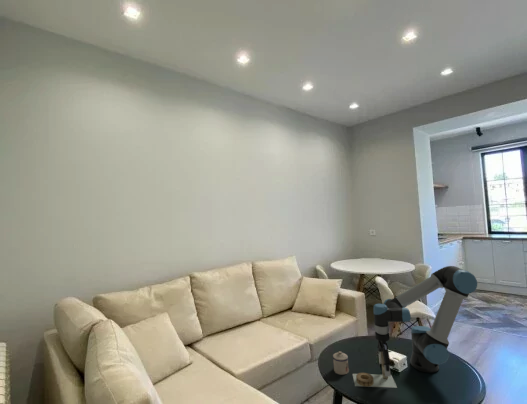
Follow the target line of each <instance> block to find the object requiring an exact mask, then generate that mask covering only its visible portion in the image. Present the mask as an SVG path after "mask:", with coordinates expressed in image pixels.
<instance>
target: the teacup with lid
mask: <svg viewBox="0 0 527 404" xmlns="http://www.w3.org/2000/svg"><path fill="white" fill-rule="evenodd" d="M332 358H333V359H332V361H333V372H334V373H335V374H337V375H342V376H344V375H347V374H349V372H350V369H349V356H348V354H346V353H344V352H342V350H341V351H338V352H335V353H333V354H332Z"/></svg>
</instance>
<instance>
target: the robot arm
mask: <svg viewBox="0 0 527 404" xmlns="http://www.w3.org/2000/svg"><path fill="white" fill-rule="evenodd" d="M477 287H478V281H477V278H476V276H475V275H474V274H473V273H471V272H470V271H468V270H466V269H462V268H459V267H458V266H454V265H447V266H443V267H442V268H440V269H437V270H436V271H434V272H432V273H431V274H430V276H429V277H427V278H425V279H424V280H422V281H421V282H419V283H416V285H414V286H412V287H410V288H409V289H407V290H405V291H404V292H402V293H400V294H398V295H397V296H395V297H394V298H386V299H385V300H384V301H383V303H375V304H374V305H373V312H372V313H373V319H374V326H373V328H374V335H375V336H374V337H375V339H376V341H377V346H376V347H377V350H378V359H379V361H378V362H379V364H382V363H381V352H383V357H384V364H383V365H384V368H385V376H388V377H391V376H390V375H391V366H392V365H391V359H390V352H389V345H388V343H387V342H388V341H389V340H390V326H389V323H406V322H410V321H411V320H412V316H411V312H410V310H409V308H408V307H409V306H411V305H412V304H414V303H415V302H417V301H418V300H420V299H423V298H424V297H427V296H428V295H429V294H431V293H433V292H435V291H436V290H438V289H444V290H445V293H444V295H443V298H442V300H441V302H440V305H439V307H438V310H437V312H436V315H435V318H434V320H433V322H432V326H431V327H428V326H423V325H416V326H412V327H411V329H410V331H411V332H410V335H411V336H410V337H411V346H412V352H411V356H410V359H409V360H410V365H411V366H412V368H413V369H416V370H417V371H420V372H422V373H431V374H432V373H436V372H438V371H439V370H440V367H439V365H443V364H444V363H447V361H448V359H449V357H450V353H449V350H448V347H449V345H450V342H449V340H448V338H449V335H450V332H451V330H452V328H453V326H454V323H455V320H456V317H457V315H458V313H459V310H460V308H461V305H462V302H463V301H464V299H467V298H468V297H469V294H472V293H474V292H475V291H476V290H477Z"/></svg>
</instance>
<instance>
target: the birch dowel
mask: <svg viewBox="0 0 527 404" xmlns="http://www.w3.org/2000/svg"><path fill="white" fill-rule="evenodd" d="M380 364H381V373H382V374H381V375H382V376H383V378H384V379H388V376H385V368H384V365H383V364H384V357H383V352H381V363H380Z"/></svg>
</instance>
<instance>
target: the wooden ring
mask: <svg viewBox="0 0 527 404" xmlns="http://www.w3.org/2000/svg"><path fill="white" fill-rule="evenodd" d="M356 374H357V375H356V380H357V383H358V384H359V385H362V386H361V387H365V386H367V387H368V386H372V385H373V384H374V380H373V376H372V375H370V374H371V373H368V372H358V373H356ZM365 379H366V380H365ZM368 388H369V387H368Z"/></svg>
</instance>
